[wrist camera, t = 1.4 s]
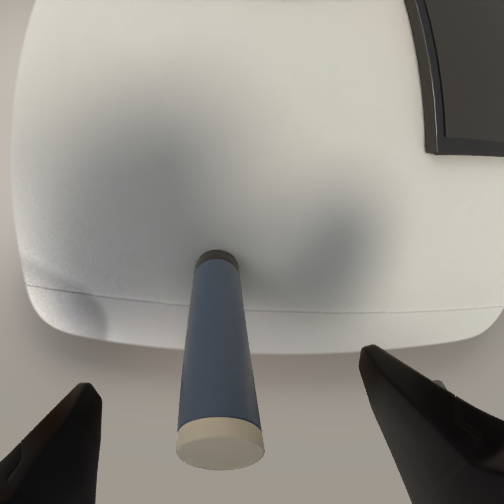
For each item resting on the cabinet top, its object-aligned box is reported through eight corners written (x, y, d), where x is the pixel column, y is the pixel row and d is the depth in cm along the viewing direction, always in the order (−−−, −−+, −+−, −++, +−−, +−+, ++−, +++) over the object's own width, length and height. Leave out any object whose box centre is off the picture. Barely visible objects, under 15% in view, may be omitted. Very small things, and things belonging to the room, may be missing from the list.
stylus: (247, 264, 15) (283, 448, 6) (222, 294, 16) (232, 475, 7) (211, 241, 14) (204, 427, 5) (187, 274, 15) (161, 458, 6)
